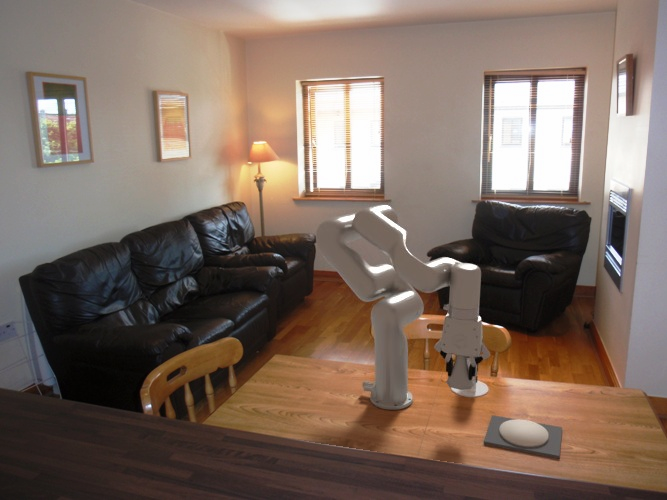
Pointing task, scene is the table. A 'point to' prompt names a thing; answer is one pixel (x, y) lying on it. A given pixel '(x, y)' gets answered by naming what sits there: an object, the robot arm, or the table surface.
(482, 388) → the white upright piece
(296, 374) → the table surface
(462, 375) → the flask
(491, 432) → the saucer mat
